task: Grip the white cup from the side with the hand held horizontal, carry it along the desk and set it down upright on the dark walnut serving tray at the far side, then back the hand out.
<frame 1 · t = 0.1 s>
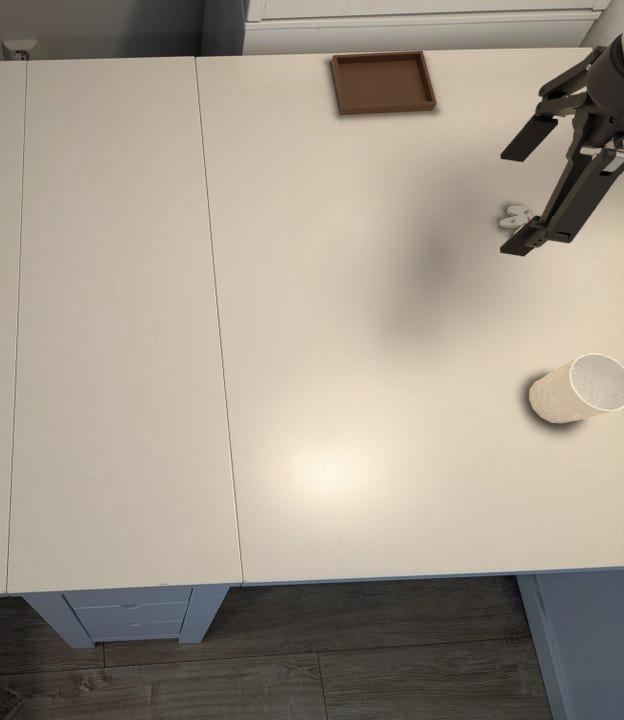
hand: (511, 203, 67), 21 cm above the table, tool pointing down, fingers open, 13 cm apart
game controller: (532, 227, 91), on the table
tray: (379, 89, 101), on the table
white cup: (548, 402, 81), on the table
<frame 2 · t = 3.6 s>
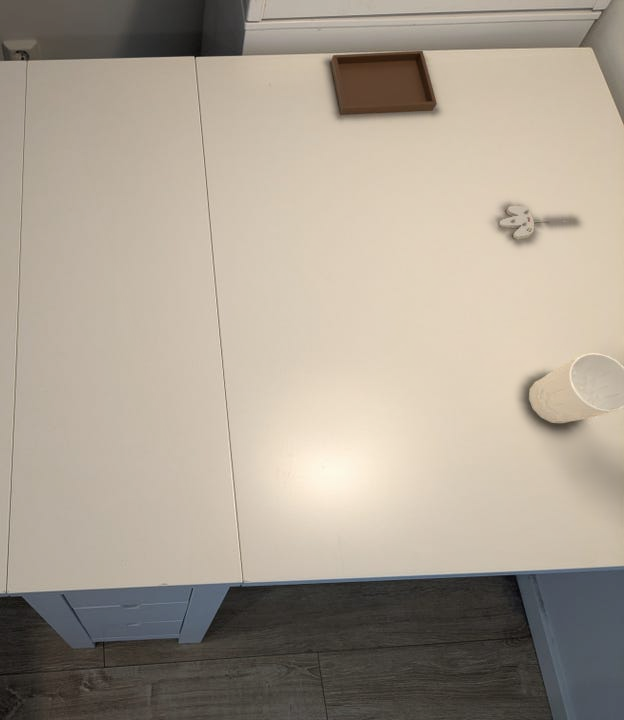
nothing on the table moved.
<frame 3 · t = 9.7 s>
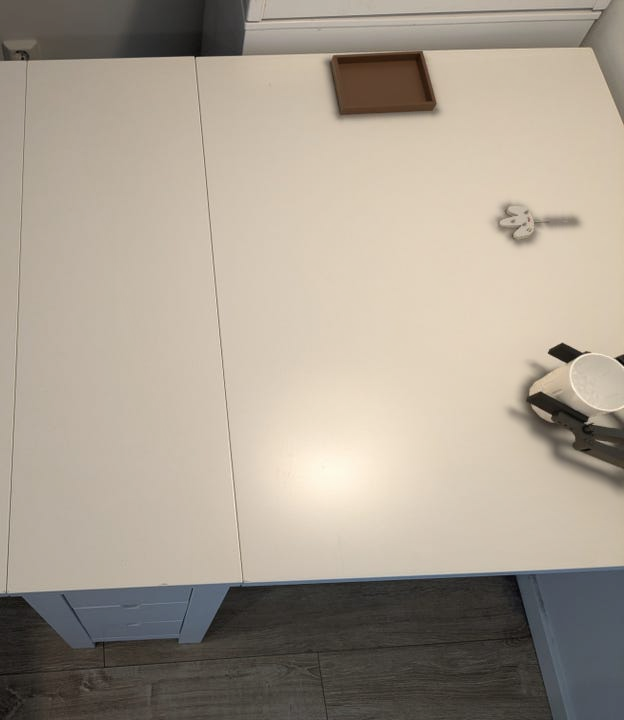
hand: (544, 371, 76), 6 cm above the table, tool horizontal, fingers closed on white cup, 8 cm apart
white cup: (548, 402, 81), on the table, touching gripper
everything else where it was.
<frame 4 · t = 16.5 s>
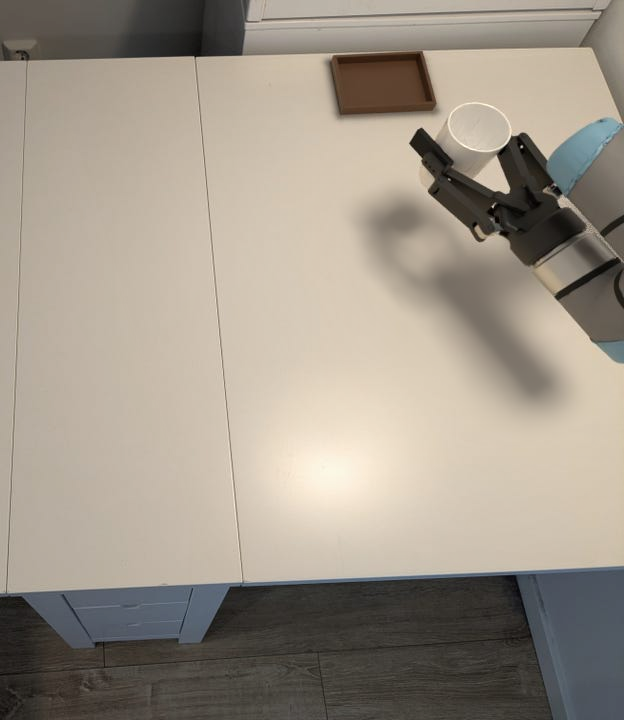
hand: (439, 123, 76), 18 cm above the table, tool horizontal, fingers closed on white cup, 8 cm apart
white cup: (441, 177, 80), point 12 cm above the table, touching gripper
everything else where it was.
when the fingers open (7 cm above the table, at t = 23.5 s): white cup stays where it is, resting on tray.
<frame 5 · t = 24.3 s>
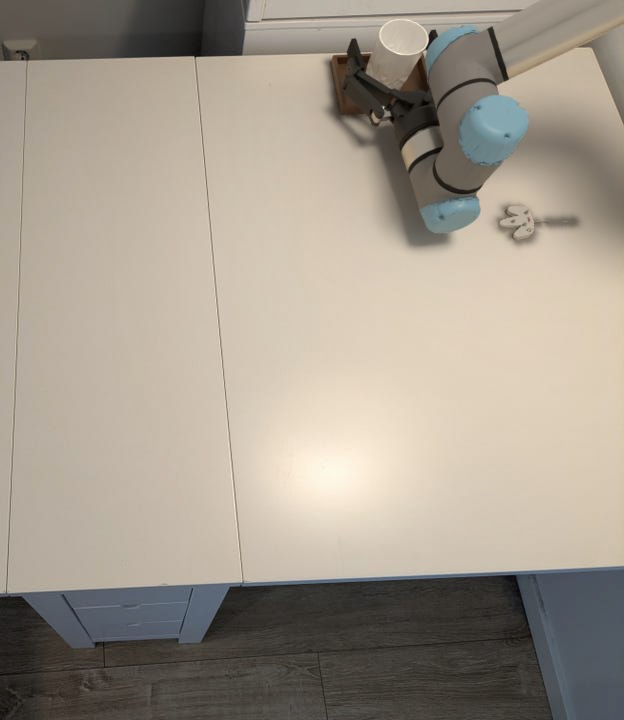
hand: (390, 40, 95), 7 cm above the table, tool horizontal, fingers open, 13 cm apart
white cup: (380, 86, 100), point 1 cm above the table, touching tray
everything else where it was.
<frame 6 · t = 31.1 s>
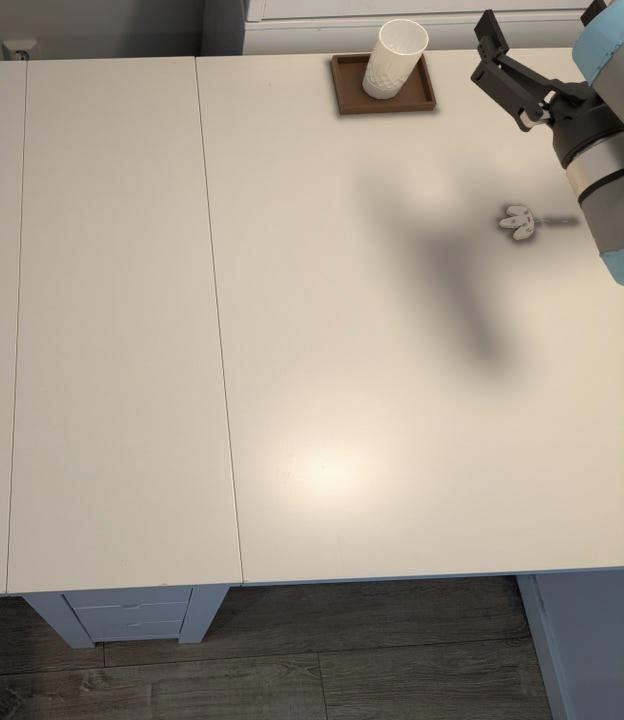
hand: (536, 13, 68), 28 cm above the table, tool horizontal, fingers open, 13 cm apart
nothing on the table moved.
at the end: white cup inside the target area in the tray (0.0 cm from its centre), point 0.6 cm above the tray's base; white cup tilted 0°; the gripper is holding nothing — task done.
